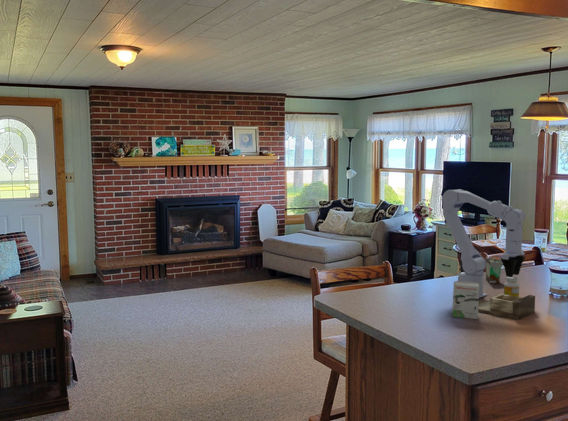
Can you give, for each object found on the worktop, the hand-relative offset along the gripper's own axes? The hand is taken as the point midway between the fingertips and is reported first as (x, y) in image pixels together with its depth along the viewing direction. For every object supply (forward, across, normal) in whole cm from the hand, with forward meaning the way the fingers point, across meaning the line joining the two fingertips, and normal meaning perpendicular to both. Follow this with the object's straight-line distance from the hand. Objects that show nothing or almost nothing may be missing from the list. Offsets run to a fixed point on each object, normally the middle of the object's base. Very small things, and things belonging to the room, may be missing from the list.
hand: (512, 275), depth 211 cm
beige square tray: (+9, -15, -5) cm, 18 cm away
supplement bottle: (+11, 0, 0) cm, 11 cm away
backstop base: (+10, -15, -2) cm, 18 cm away
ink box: (+11, -31, +3) cm, 33 cm away
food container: (+11, +29, +20) cm, 37 cm away
